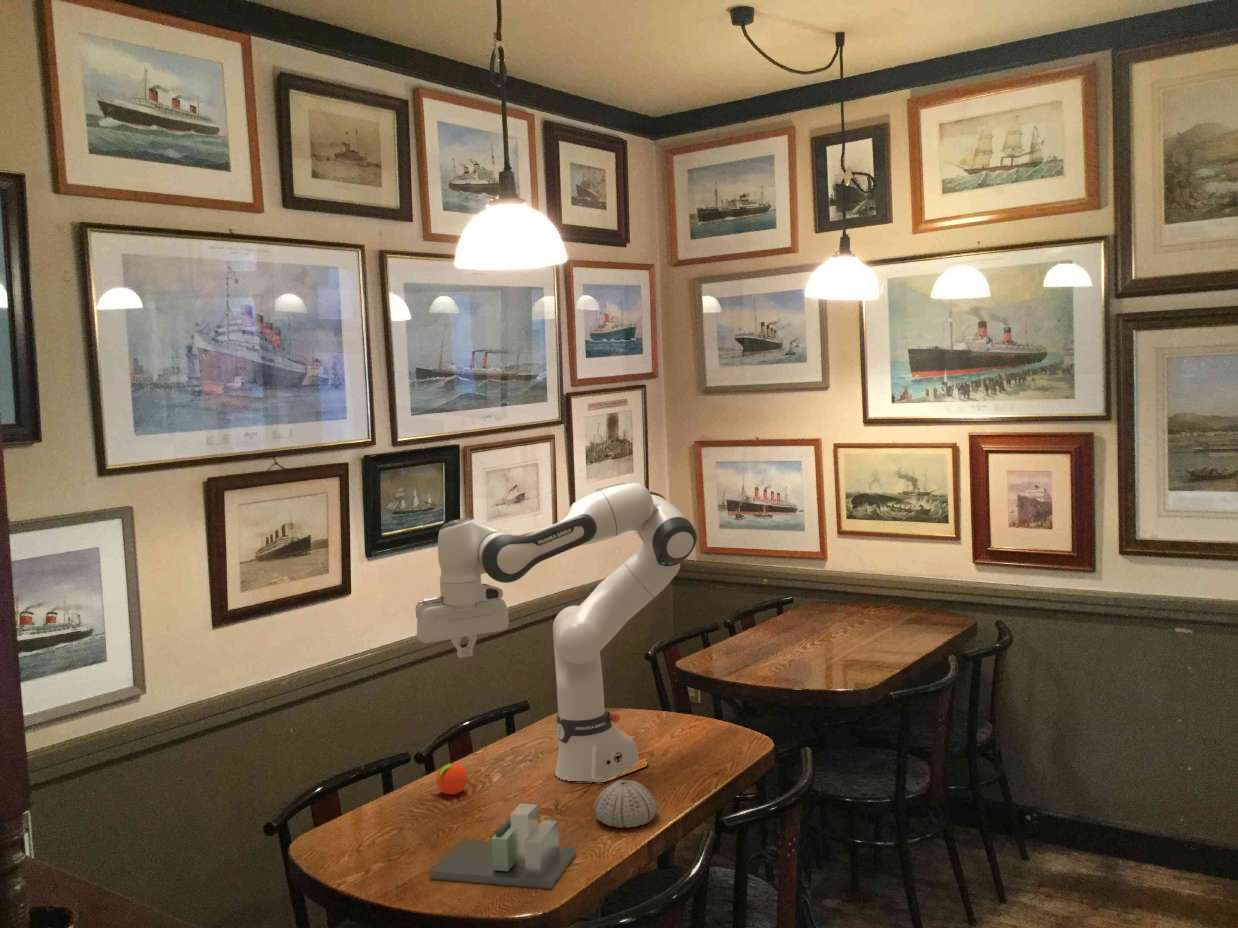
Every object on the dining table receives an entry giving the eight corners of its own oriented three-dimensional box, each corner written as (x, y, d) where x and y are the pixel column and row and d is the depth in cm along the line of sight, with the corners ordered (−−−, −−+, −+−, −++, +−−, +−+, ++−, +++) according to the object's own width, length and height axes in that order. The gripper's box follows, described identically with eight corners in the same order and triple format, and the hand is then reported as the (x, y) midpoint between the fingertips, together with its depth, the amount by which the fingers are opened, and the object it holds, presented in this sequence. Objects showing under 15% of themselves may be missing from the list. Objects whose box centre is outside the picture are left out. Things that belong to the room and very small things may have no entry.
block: (513, 865, 188) (510, 813, 188) (523, 854, 193) (520, 803, 192) (530, 867, 187) (527, 814, 187) (540, 855, 192) (537, 804, 191)
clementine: (450, 802, 225) (448, 771, 225) (428, 797, 229) (426, 767, 228) (474, 790, 232) (472, 760, 231) (452, 785, 235) (450, 756, 235)
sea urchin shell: (618, 802, 220) (615, 767, 219) (670, 814, 212) (668, 776, 212) (581, 825, 209) (579, 787, 208) (635, 838, 201) (633, 799, 201)
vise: (430, 878, 188) (427, 839, 188) (462, 846, 201) (459, 810, 201) (550, 889, 181) (548, 848, 181) (575, 855, 195) (573, 817, 194)
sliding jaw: (493, 869, 186) (490, 832, 186) (513, 846, 196) (511, 810, 196) (508, 871, 186) (505, 833, 185) (527, 847, 195) (525, 811, 195)
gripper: (419, 602, 210) (424, 667, 211) (509, 589, 220) (513, 651, 221) (410, 598, 215) (414, 661, 216) (498, 585, 226) (502, 646, 226)
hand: (465, 656), depth 219 cm, fingers closed
